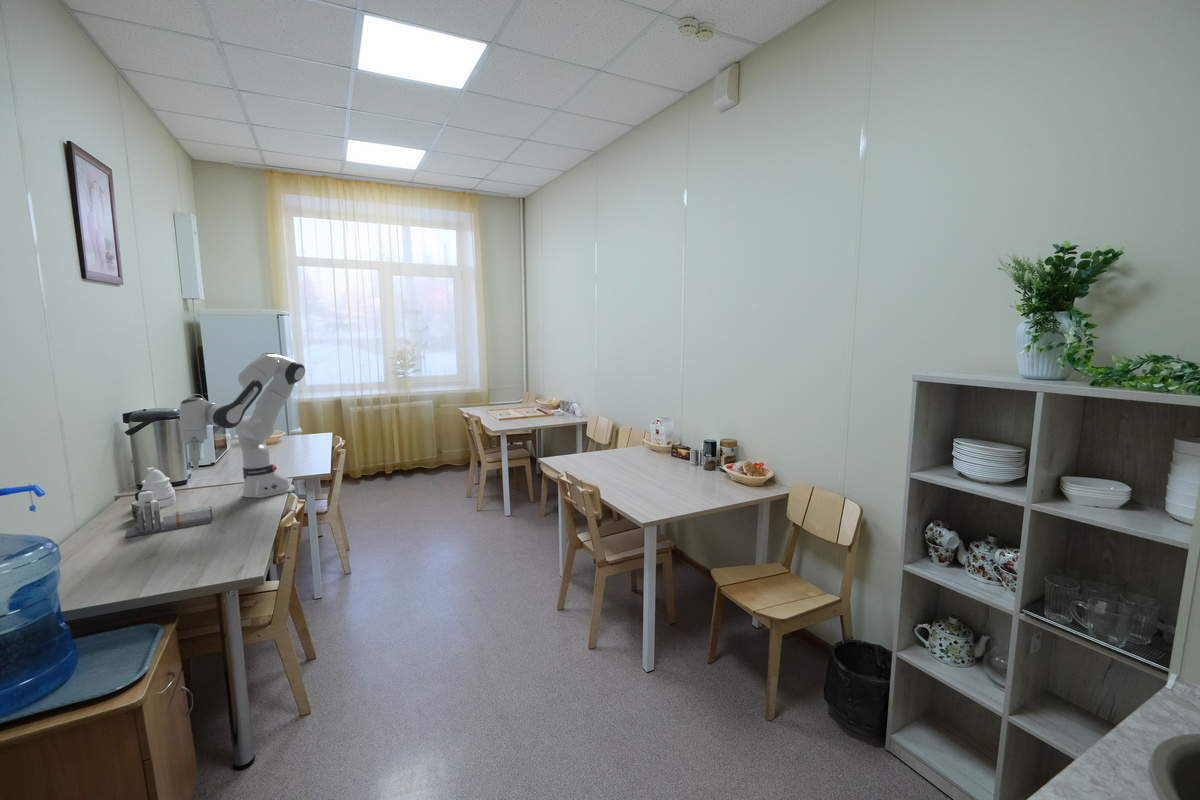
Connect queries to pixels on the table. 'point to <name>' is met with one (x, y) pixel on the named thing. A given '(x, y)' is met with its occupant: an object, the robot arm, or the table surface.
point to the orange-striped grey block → (187, 516)
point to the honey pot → (159, 487)
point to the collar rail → (156, 526)
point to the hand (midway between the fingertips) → (196, 467)
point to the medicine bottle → (143, 502)
